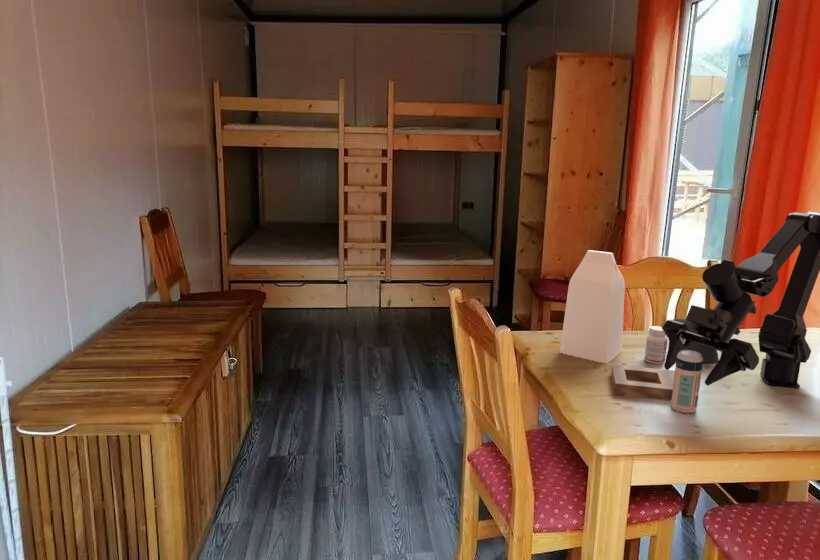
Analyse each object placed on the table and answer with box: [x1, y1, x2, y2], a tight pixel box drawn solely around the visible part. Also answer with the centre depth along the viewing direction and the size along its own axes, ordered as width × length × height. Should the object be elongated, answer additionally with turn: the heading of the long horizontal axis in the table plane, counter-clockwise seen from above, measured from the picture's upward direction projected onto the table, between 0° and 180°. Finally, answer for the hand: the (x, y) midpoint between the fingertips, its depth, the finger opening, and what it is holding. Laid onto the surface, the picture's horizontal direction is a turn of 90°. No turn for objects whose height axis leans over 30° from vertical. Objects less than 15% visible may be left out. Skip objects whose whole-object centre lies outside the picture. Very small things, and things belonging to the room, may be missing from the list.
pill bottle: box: [643, 325, 669, 365], centre depth 152 cm, size 5×5×8 cm
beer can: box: [670, 350, 704, 414], centre depth 124 cm, size 5×5×12 cm
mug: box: [672, 318, 720, 365], centre depth 156 cm, size 12×9×11 cm
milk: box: [559, 249, 626, 364], centre depth 156 cm, size 12×12×26 cm
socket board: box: [610, 364, 675, 402], centre depth 136 cm, size 15×12×2 cm
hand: (685, 376), depth 123 cm, fingers open, 9 cm apart
